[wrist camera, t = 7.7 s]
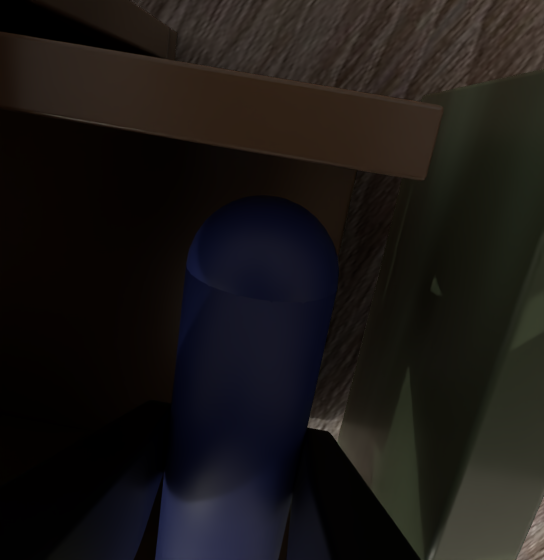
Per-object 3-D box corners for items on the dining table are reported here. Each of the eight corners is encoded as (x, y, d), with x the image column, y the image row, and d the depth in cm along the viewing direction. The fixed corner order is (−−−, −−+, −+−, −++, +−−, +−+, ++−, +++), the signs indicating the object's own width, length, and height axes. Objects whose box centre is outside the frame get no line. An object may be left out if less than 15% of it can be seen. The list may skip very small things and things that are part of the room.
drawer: (633, 130, 12) (1174, 143, 4) (482, 515, 16) (636, 860, 8) (-57, 13, 12) (-626, -153, 5) (-33, 422, 16) (-322, 676, 9)
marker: (269, 569, 10) (259, 684, 8) (168, 549, 10) (132, 659, 8) (347, 198, 8) (362, 227, 5) (211, 174, 8) (175, 195, 6)
